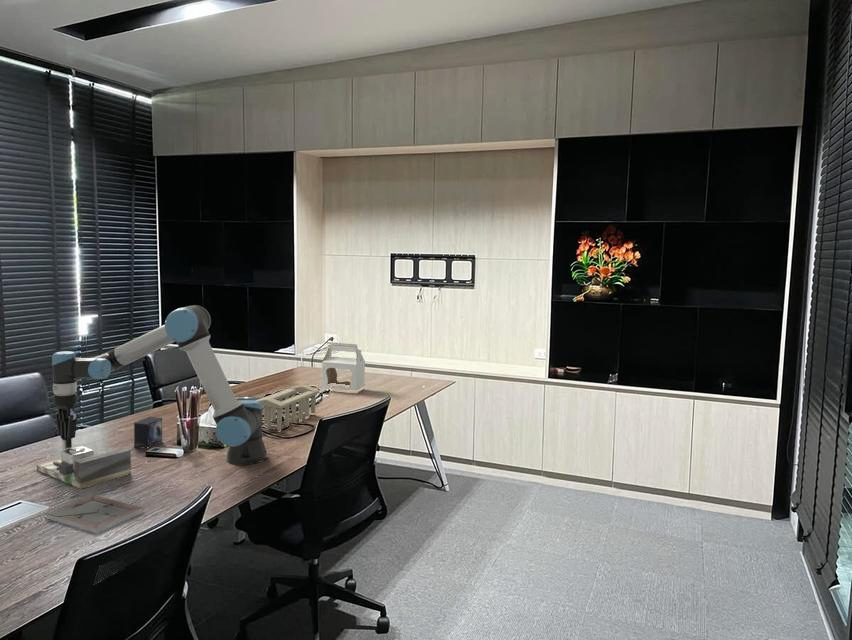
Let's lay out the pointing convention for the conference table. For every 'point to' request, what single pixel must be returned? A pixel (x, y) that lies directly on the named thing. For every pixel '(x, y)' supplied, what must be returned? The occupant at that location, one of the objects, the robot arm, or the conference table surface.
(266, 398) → the architectural model
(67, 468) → the max marker
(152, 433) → the small box
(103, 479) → the base
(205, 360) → the robot arm
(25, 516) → the conference table surface
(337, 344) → the gable box
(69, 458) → the grey dimpled block
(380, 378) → the conference table surface
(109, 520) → the picture frame
